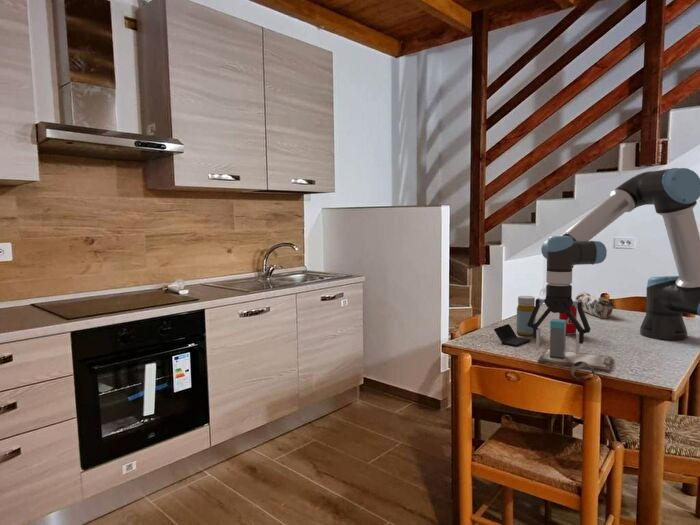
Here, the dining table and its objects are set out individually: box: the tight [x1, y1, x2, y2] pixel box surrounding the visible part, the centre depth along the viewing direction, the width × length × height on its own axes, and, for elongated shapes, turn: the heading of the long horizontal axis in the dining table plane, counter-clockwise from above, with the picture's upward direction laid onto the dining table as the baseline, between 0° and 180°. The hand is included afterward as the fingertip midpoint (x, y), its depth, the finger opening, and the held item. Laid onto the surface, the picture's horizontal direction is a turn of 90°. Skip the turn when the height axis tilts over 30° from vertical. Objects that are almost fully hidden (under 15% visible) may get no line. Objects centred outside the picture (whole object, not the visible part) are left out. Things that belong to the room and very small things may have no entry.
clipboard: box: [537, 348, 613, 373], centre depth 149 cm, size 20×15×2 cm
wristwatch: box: [570, 361, 596, 380], centre depth 133 cm, size 4×6×5 cm, turn 85°
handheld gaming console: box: [493, 323, 531, 348], centre depth 173 cm, size 12×7×10 cm
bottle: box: [516, 295, 537, 337], centre depth 183 cm, size 7×7×15 cm
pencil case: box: [574, 291, 614, 319], centre depth 219 cm, size 22×8×10 cm, turn 178°
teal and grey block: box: [549, 318, 567, 359], centre depth 150 cm, size 4×4×12 cm
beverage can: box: [558, 305, 578, 336], centre depth 184 cm, size 6×6×12 cm
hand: (557, 350), depth 150 cm, fingers open, 11 cm apart
